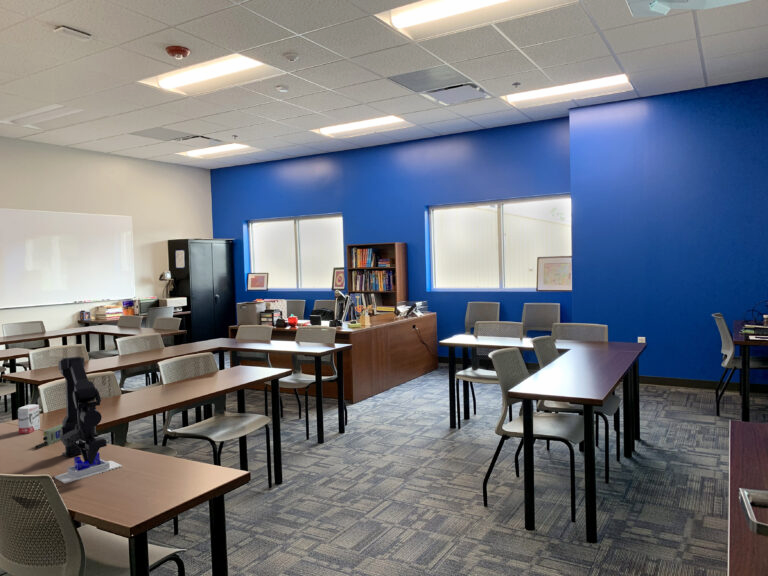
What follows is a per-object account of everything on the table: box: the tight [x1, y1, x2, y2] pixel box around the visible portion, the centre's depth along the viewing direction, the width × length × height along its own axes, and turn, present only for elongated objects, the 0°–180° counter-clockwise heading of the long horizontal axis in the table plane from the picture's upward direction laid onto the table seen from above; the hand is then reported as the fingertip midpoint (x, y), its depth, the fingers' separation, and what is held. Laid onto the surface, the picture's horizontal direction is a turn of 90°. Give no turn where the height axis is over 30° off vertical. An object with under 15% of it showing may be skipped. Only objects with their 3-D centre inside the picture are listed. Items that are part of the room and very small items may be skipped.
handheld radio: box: [34, 423, 62, 449], centre depth 248 cm, size 7×3×25 cm
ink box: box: [17, 404, 41, 435], centre depth 264 cm, size 9×5×12 cm, turn 179°
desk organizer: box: [54, 458, 123, 484], centre depth 207 cm, size 9×20×3 cm, turn 140°
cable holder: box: [73, 451, 101, 470], centre depth 207 cm, size 8×4×4 cm, turn 136°
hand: (88, 462), depth 207 cm, fingers closed on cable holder, 3 cm apart
